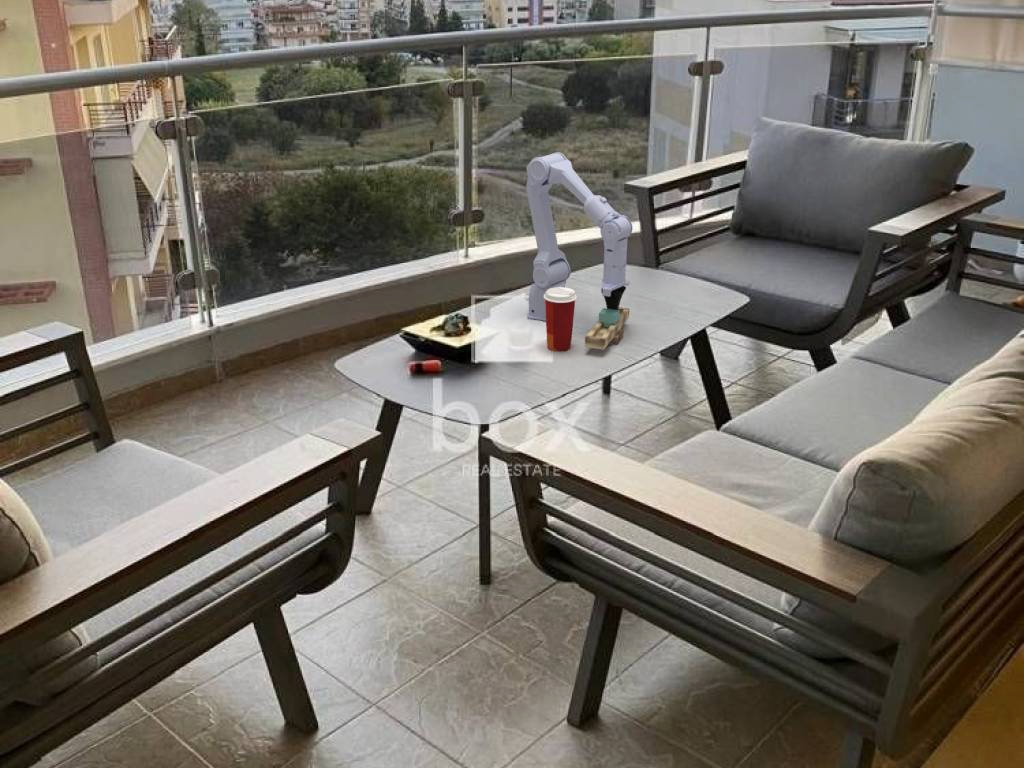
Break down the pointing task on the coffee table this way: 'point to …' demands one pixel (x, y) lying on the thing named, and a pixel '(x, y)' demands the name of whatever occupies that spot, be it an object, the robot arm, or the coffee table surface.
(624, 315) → the tan wooden slatted block
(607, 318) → the teal cube
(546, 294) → the coffee cup
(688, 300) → the coffee table surface
